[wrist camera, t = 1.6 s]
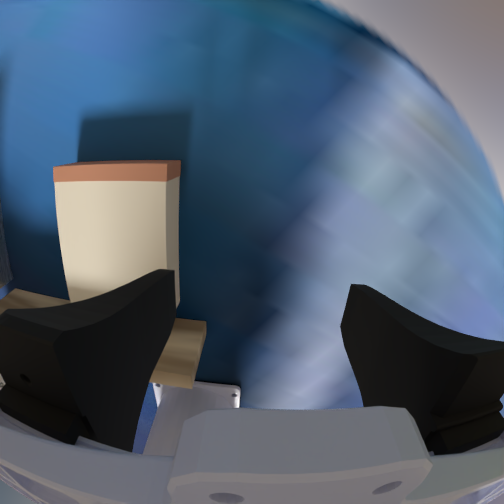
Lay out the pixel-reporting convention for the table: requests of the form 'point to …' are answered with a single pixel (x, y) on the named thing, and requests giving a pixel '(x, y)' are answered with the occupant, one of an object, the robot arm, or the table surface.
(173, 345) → the shelf wall
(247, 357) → the table surface
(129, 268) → the book
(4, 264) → the bookend
